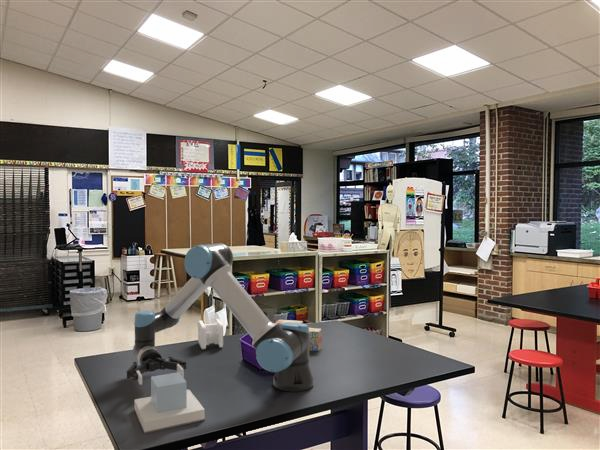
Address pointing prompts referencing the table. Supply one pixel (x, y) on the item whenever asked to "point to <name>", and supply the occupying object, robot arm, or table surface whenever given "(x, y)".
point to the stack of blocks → (310, 336)
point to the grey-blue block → (168, 392)
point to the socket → (168, 414)
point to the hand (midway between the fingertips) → (162, 377)
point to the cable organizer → (210, 333)
